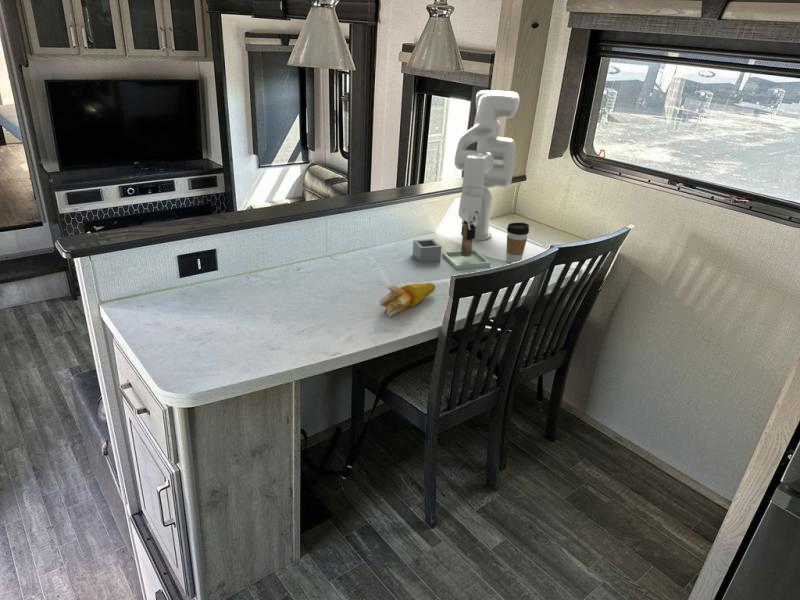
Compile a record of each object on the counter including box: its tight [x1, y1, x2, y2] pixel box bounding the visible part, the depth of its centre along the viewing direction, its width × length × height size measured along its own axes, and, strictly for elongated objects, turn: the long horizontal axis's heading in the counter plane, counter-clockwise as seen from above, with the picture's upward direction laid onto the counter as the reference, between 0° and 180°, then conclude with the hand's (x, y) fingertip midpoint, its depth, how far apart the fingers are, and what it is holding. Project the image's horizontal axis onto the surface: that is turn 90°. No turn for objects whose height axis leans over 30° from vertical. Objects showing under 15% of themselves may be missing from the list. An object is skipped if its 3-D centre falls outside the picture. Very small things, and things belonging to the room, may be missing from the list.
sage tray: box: [441, 248, 491, 270], centre depth 223 cm, size 14×14×2 cm
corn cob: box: [378, 282, 436, 319], centre depth 187 cm, size 8×8×25 cm
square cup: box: [412, 238, 442, 264], centre depth 223 cm, size 8×8×7 cm
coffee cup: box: [505, 222, 530, 264], centre depth 224 cm, size 8×8×15 cm
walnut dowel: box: [460, 223, 474, 257], centre depth 219 cm, size 4×4×12 cm
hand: (467, 236), depth 219 cm, fingers closed on walnut dowel, 4 cm apart
